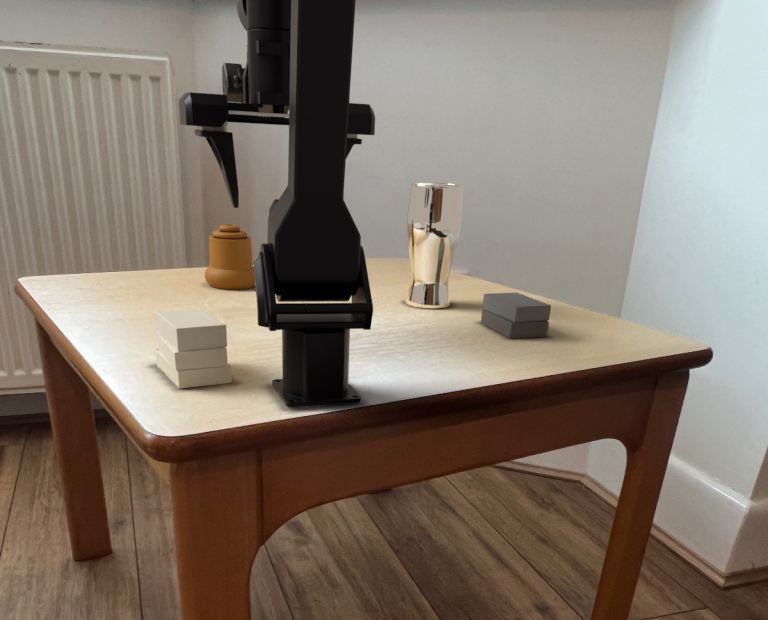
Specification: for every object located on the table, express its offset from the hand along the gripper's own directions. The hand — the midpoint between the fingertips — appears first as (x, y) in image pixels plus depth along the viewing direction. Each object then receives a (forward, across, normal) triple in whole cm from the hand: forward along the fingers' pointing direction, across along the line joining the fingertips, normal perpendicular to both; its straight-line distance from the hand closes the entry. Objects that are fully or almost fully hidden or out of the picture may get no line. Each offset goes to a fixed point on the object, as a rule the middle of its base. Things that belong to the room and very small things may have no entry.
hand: (279, 208), depth 78 cm
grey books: (+13, -28, +3) cm, 31 cm away
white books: (+13, +12, +14) cm, 22 cm away
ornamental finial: (+13, +1, -27) cm, 30 cm away
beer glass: (+13, -23, -12) cm, 29 cm away
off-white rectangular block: (+10, +11, +14) cm, 20 cm away
